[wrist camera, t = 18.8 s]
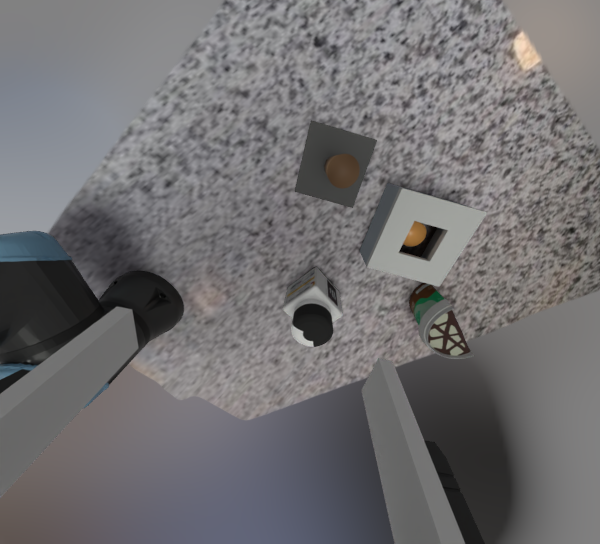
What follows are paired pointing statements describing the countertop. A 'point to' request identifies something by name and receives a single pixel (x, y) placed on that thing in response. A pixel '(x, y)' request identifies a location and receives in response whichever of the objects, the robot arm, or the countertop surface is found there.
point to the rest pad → (319, 149)
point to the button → (415, 234)
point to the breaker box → (397, 223)
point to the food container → (438, 323)
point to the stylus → (342, 170)
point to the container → (312, 308)
